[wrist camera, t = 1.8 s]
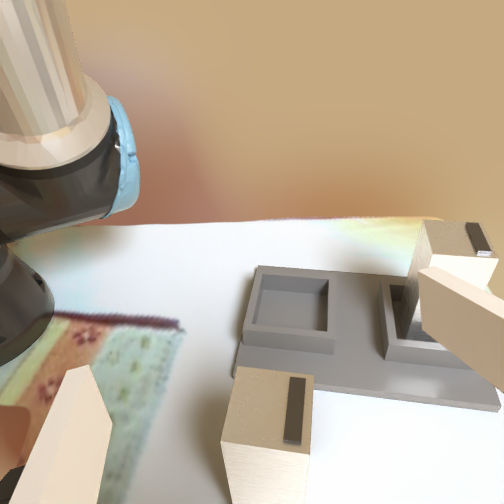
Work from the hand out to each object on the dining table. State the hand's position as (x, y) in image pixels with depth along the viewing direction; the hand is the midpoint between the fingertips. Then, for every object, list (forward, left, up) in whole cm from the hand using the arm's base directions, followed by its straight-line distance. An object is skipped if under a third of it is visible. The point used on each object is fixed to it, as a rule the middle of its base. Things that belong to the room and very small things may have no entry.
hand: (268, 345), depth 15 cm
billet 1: (0, +3, -22) cm, 22 cm away
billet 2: (+14, +20, -21) cm, 32 cm away
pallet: (+7, +20, -22) cm, 30 cm away
